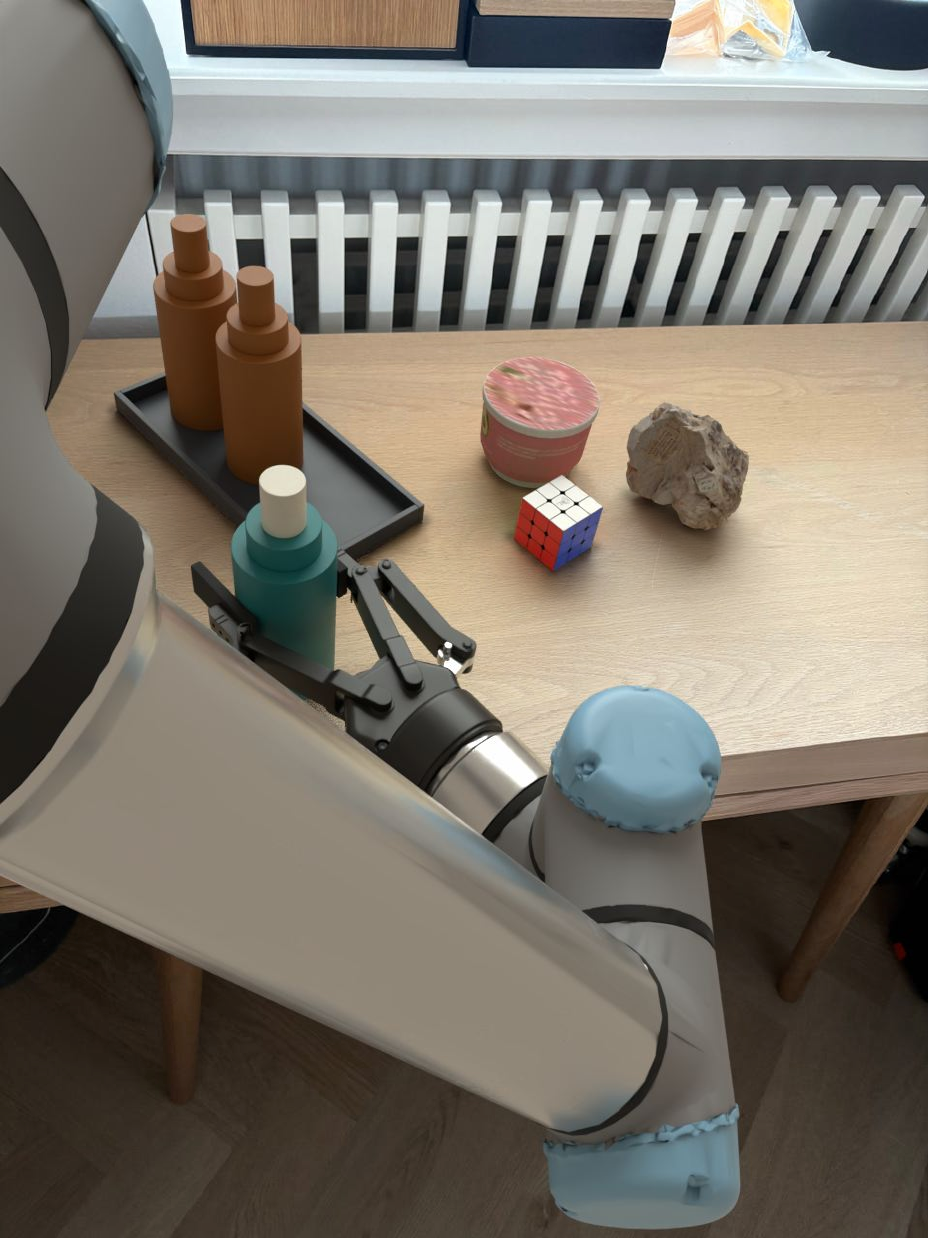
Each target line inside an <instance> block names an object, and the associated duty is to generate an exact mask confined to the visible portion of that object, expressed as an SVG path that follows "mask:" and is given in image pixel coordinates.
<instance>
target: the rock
mask: <svg viewBox="0 0 928 1238" xmlns="http://www.w3.org/2000/svg"><path fill="white" fill-rule="evenodd" d="M626 451H627V455H628V459H629V460H628V461H627V462H626V470H625V479H626V484H627V486H628V488H629V490H630V492H631V493H634V494H636V495H638V496H641V497H642V498H645V499H648V500H652V501H653V503H656V504H658V505H662V506H667V505H669V504H671V506H672V508H673V509H674V510H675V511H676V513H677V515H678V518H679V520H680V522H681V523H682V524H684V525H686V526H687V527H689V528H691V529H703V530H704V531H708V530H709V529H716V528H717V527H718V526H721V525H723V524H725V523H727V522H728V519H729V517H730V516H732V514H734V513H735V512H736V511H737V509H738V508H739V507H740V504H741V502H742V499H743V498H742V495H743V491H744V483H745V482H746V480H747V479H746V478H747V474H748V471H749V464H750V455H749V454H748V453H749V452H748V451H746V450H744V449H743V450H742V449H741V448H740V447H738V446H737V444H736V443H735V442H734V441H733V440H732V439H731V438H730V436H729V435H727V434H726V432H725V430H724V429H723V425H722V424H721V423H720V422H719V421H718V420H717V419H716V418H714V417H711V416H710V415H709V414H706V415H703V416H702V415H700V414H697V413H693V411H692V410H689V409H685V408H682V407H681V406H678V405H677V404H672V403H670V402H662V403H660V404H659V405H658V406H657V407H656V408H654V409H653V411H652V412H650V413H649V414H648V415H646V416H645V417H643V418H642V419H640V421H639V422H637V424H634V425H633V426H632V428H630V431H629V434H628V438H627V443H626Z"/></svg>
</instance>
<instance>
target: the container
mask: <svg viewBox="0 0 928 1238" xmlns="http://www.w3.org/2000/svg"><path fill="white" fill-rule="evenodd" d="M481 393H482V401H483V403H482V410H481V411H482V413H481V423H480V433H479V434H480V436H479V438H480V444H481V447H482V450H483V453H484V456H485V458H486V460H487V461H488V463H489V465H490V467H491V469H492V470H493V472H494V473H495V474H496V475H497V476H498V477H500V478H501V479H503V480H504V481H506V482H508V483H510V484H512V485H515V486H517V487H521V488H527V489H528V488H529V489H538V488H540V487H542V486H543V485H545V484H547V483H549V482H550V481H552V480H554V479H555V478H557V477H559V476H561V475H563V476H564V477H566V476H567V475H569V473H571V472H572V470H573V469H574V468H575V467H576V466H577V465H578V464H579V462H580V461H581V458H583V454H584V451H585V448H586V445H587V441H588V439H589V435H590V432H591V429H592V427H593V423H594V422H595V420H596V418H597V417H598V413H599V410H600V405H601V401H600V400H601V399H600V394H599V391H598V389H597V387H596V385H595V384H594V383H593V382H592V380H591V379H590V378H589V377H588V376H587V375H586V374H585V373H583V372H582V371H580V370H579V369H577V368H576V367H573V366H571V365H569V364H567V363H564V362H561V361H559V360H556V359H551V358H547V357H536V356H523V357H518V358H511V359H509V360H505V361H503V362H501V363H499V364H498V365H496V366H494V367H493V369H491V370H490V371H489V372H488V373H487V375H486V376H485V378H484V382H483V385H482V392H481Z"/></svg>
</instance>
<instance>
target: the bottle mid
mask: <svg viewBox="0 0 928 1238" xmlns="http://www.w3.org/2000/svg"><path fill="white" fill-rule="evenodd" d="M235 277H236V290H237V304H235V305H233V306H232V307H231V308H230V309H229V310H228V312H227V316H226V319H227V321H226V322H225V323H223V324H222V325H221V326H220V327H219V329H218V330H217V333H216V336H215V341H216V352H217V363H218V373H219V384H220V395H221V405H222V416H223V427H224V438H225V448H226V459H227V465H228V468H229V469H230V471H231V472H232V473H233V474H234V475H235V476H236V477H237V478H239V479H240V480H242V481H245V482H247V483H250V484H255V485H259V478H260V476H261V474H262V473H263V472H264V471H265V470H266V469H268V468H270V467H273V466H277V465H287V466H292V467H295V468H297V469H299V470H301V468H302V465H303V406H302V402H303V361H302V359H303V356H302V355H303V354H302V352H303V351H302V350H303V349H302V335H301V333H300V330H299V329H298V328H297V326H296V325H294V323H292V322H290V321H289V315H288V312H287V310H286V309H285V308H284V307H283V306H282V305H280V304H278V303H276V298H275V297H276V296H275V276H274V273H273V271H271V269H269V268H267V267H264V266H261V265H247V266H244V267H242V268H240V269H239V270H238V271H237V272H236V276H235Z"/></svg>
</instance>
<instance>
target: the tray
mask: <svg viewBox="0 0 928 1238" xmlns="http://www.w3.org/2000/svg"><path fill="white" fill-rule="evenodd" d="M113 398H114V403H115V408H116V411H117V412H118V413H119V414H121V415H122V416H123V417H124V418H125V419H126V420H127V421H128V422H129V423H130V424H131V425H132V426H133V427H134V428H135V429H136V430H137V431H138V432H139V433H140V434H141V435H142V436H143V437H144V438H145V439H146V440H147V441H148V442H149V443H150V444H151V445H152V446H154V448H155V449H157V451H159V452H160V454H162V455H163V456H164V457H165V458H166V459H167V460H168V461H169V462H170V463H171V464H172V465H173V466H174V467H175V468H176V469H177V470H178V471H179V472H180V473H181V474H182V475H183V476H184V477H185V478H187V480H189V481H190V482H191V484H193V485H194V486H195V487H196V488H197V489H198V490H199V491H200V492H201V493H202V494H203V495H204V496H205V497H206V498H207V499H208V500H209V501H210V502H211V503H212V504H213V505H214V506H215V507H217V509H218V510H219V511H221V512H222V513H223V515H225V516H226V517H227V518H228V519H229V520H230V521H231V522H232V523H233V524H234V525H235V526H236V527H237V528H238V527H239V526H240V525H241V524H242V523H243V522H244V521H245V520H246V517H247V515H248V513H249V511H250V510H251V509H252V508H253V507H254V506H255V505H257V504H258V503H260V488H259V485H255V484H250V483H247V482H245V481H242V480H240V479H239V478H237V477H236V476H235V475H234V474H233V473H232V472H231V471H230V469H229V468H228V465H227V459H226V448H225V438H224V428H223V429H220V430H214V431H199V430H194V429H190V428H187V427H185V426H183V425H181V424H180V423H179V422H177V421H176V420H175V419H174V417H173V416H172V414H171V410H170V403H169V396H168V389H167V382H166V375H165V371H163V372H161V373H158V374H155V375H154V376H150V377H149V378H146V379H143V380H140V381H138V382H136V383H133V384H131V385H128V386H126V387H124V388H121V389H119V390H116V391H114V392H113ZM302 406H303V465H302V468H301V470H300V471H301V472H302V473H303V474H304V476H305V478H306V502H308V503H309V504H311V505H312V506H313V507H314V508H315V509H316V510H317V511H318V512H319V514H320V516H321V518H322V520H324V521H325V522H326V523H327V524H328V525H329V526H330V527H331V529H332V530H333V532H334V534H335V536H336V539H337V544H338V546H339V547H340V548H341V549H342V550H344V551H345V552H346V553H347V554H348V555H349V556H350V557H351V558H352V559H353V560H354V561H356V560H357V559H359V558H361V557H363V556H364V555H366V554H368V553H370V552H372V551H373V550H375V549H377V548H379V547H380V546H382V545H384V544H385V543H387V542H389V541H391V540H392V539H394V538H396V537H398V536H399V535H402V534H403V533H405V532H406V531H408V530H410V529H412V528H413V527H415V526H417V525H418V524H420V523H422V522H423V521H424V513H425V504H424V503H423V502H422V501H420V500H419V499H418V498H417V497H416V496H415V495H414V494H412V493H411V492H410V491H409V490H407V489H406V488H405V487H404V486H402V484H401V483H399V482H398V481H397V480H395V478H393V477H392V476H391V475H390V474H389V473H387V472H386V471H385V470H384V469H383V468H381V467H380V466H379V465H378V464H377V463H376V462H375V461H374V460H372V458H370V457H369V456H367V455H366V454H365V453H364V452H362V451H361V450H360V449H359V448H358V447H356V445H354V444H353V443H352V442H351V441H349V440H348V439H347V438H346V437H345V436H344V435H343V434H341V433H340V432H339V431H338V430H336V428H335V427H333V426H332V425H330V424H329V423H328V422H327V421H326V420H325V419H324V418H323V417H322V416H320V415H319V414H317V413H316V411H314V410H313V409H312V408H311V407H309V406H308V405H307V404H306V403H304V402H303V401H302Z"/></svg>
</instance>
